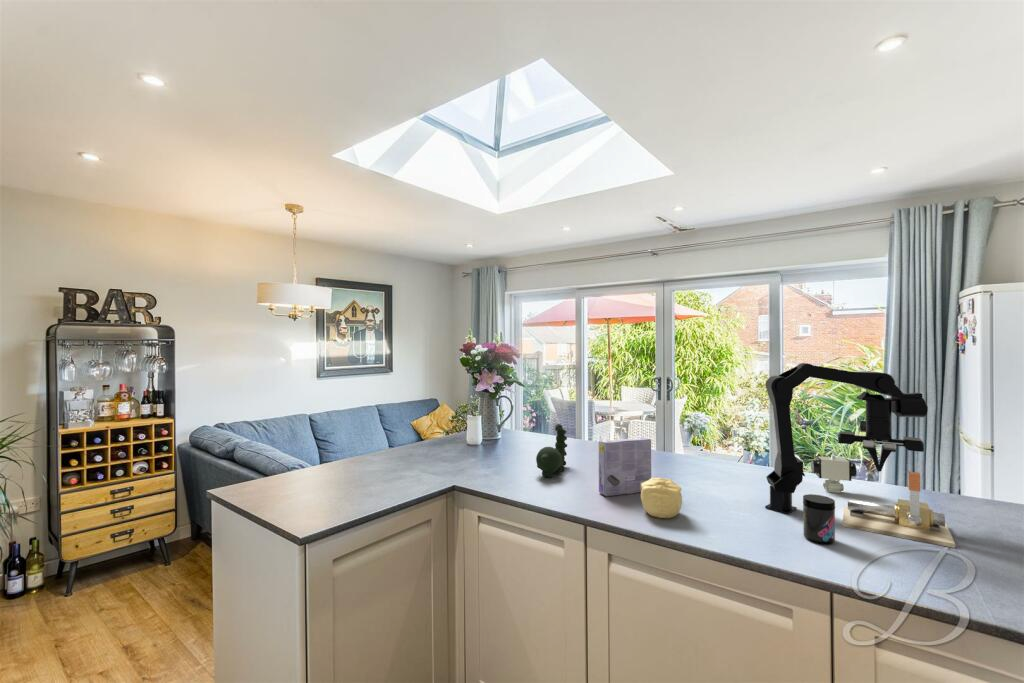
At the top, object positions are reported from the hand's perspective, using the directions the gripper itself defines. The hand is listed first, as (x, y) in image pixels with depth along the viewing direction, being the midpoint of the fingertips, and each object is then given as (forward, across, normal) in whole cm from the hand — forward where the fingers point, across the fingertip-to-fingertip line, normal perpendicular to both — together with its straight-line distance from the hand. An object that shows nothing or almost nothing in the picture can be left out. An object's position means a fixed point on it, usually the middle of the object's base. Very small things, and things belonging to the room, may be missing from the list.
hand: (879, 471), depth 129 cm
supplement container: (+13, +13, +28) cm, 33 cm away
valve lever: (+11, -7, +9) cm, 16 cm away
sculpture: (+13, +50, +34) cm, 62 cm away
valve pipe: (+12, -3, +5) cm, 13 cm away
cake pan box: (+13, +67, +22) cm, 71 cm away
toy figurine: (+13, +99, +17) cm, 101 cm away
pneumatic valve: (+13, +12, -19) cm, 26 cm away
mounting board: (+13, -3, +7) cm, 15 cm away
